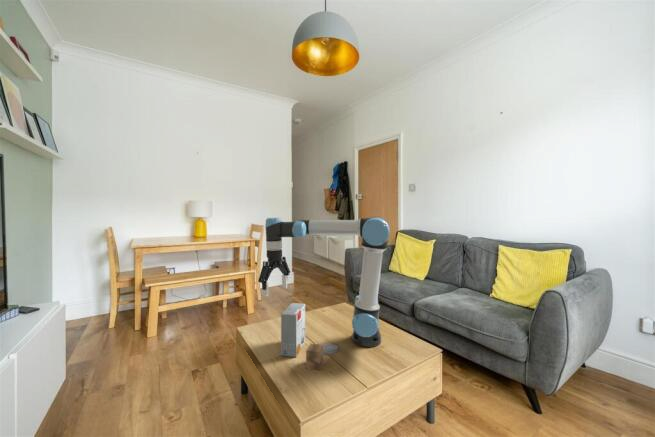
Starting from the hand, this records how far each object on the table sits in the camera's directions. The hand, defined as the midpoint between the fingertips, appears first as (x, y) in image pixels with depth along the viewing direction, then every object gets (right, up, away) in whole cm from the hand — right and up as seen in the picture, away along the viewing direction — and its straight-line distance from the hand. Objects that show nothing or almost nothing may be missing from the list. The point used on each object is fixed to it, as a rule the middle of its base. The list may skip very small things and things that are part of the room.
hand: (275, 291), depth 132 cm
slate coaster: (+26, -28, -2) cm, 38 cm away
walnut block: (+20, -28, -15) cm, 38 cm away
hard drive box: (+9, -28, -1) cm, 29 cm away
